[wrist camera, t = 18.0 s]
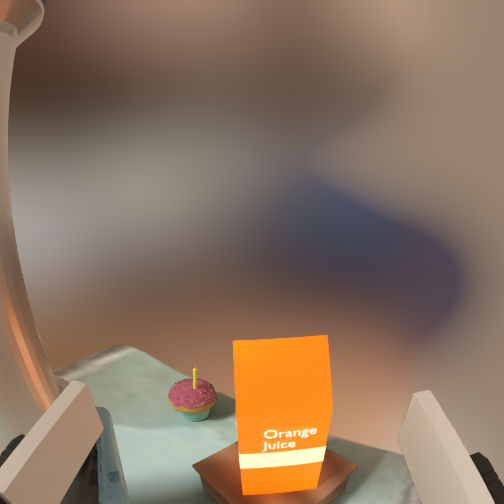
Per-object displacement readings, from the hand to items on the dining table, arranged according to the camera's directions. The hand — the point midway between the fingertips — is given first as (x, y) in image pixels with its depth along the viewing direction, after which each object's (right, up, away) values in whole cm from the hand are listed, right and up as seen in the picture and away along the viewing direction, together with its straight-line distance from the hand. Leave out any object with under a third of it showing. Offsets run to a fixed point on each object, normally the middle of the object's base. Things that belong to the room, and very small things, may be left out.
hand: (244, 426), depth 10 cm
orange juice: (+3, -21, +21) cm, 30 cm away
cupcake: (-10, -23, +40) cm, 47 cm away
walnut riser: (+3, -26, +22) cm, 35 cm away
